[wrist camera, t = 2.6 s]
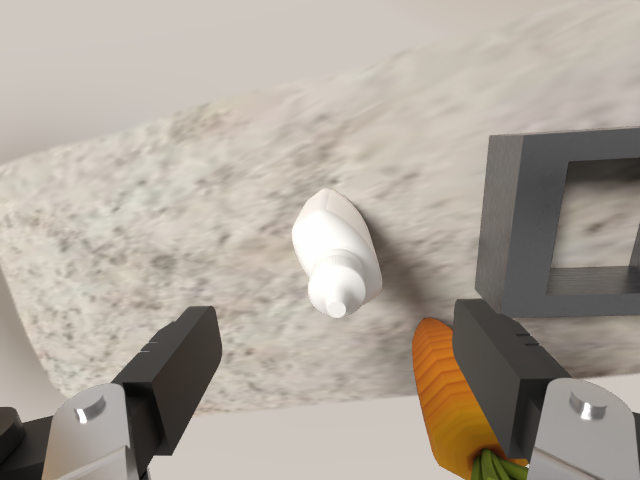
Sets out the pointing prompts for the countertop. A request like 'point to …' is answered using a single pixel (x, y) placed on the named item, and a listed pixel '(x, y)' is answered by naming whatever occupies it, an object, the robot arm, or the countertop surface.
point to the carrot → (456, 411)
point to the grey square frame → (547, 228)
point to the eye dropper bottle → (336, 254)
